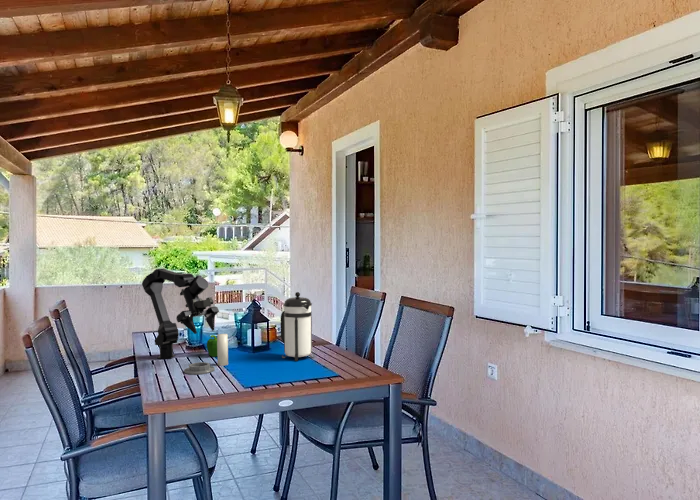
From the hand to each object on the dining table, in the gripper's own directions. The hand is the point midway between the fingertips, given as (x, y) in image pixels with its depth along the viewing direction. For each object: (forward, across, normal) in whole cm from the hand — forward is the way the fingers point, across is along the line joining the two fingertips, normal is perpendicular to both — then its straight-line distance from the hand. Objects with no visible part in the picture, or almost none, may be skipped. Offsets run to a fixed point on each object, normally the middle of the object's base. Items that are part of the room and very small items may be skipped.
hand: (204, 331), depth 227 cm
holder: (+15, -7, +3) cm, 17 cm away
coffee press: (+24, +34, -11) cm, 43 cm away
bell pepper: (+7, +15, +18) cm, 24 cm away
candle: (+15, +6, +4) cm, 16 cm away
